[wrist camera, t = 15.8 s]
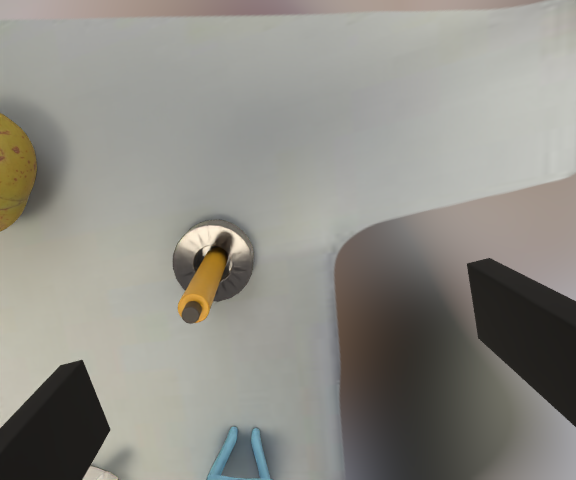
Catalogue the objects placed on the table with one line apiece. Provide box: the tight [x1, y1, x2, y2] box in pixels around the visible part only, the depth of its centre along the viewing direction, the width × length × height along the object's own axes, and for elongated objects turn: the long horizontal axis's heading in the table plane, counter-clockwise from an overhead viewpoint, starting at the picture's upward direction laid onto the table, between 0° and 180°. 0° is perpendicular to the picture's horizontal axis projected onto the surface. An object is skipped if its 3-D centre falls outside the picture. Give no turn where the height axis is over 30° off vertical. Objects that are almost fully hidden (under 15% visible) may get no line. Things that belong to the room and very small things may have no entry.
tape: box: [173, 220, 254, 301], centre depth 41 cm, size 8×8×3 cm
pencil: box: [178, 247, 228, 324], centre depth 35 cm, size 2×2×15 cm
